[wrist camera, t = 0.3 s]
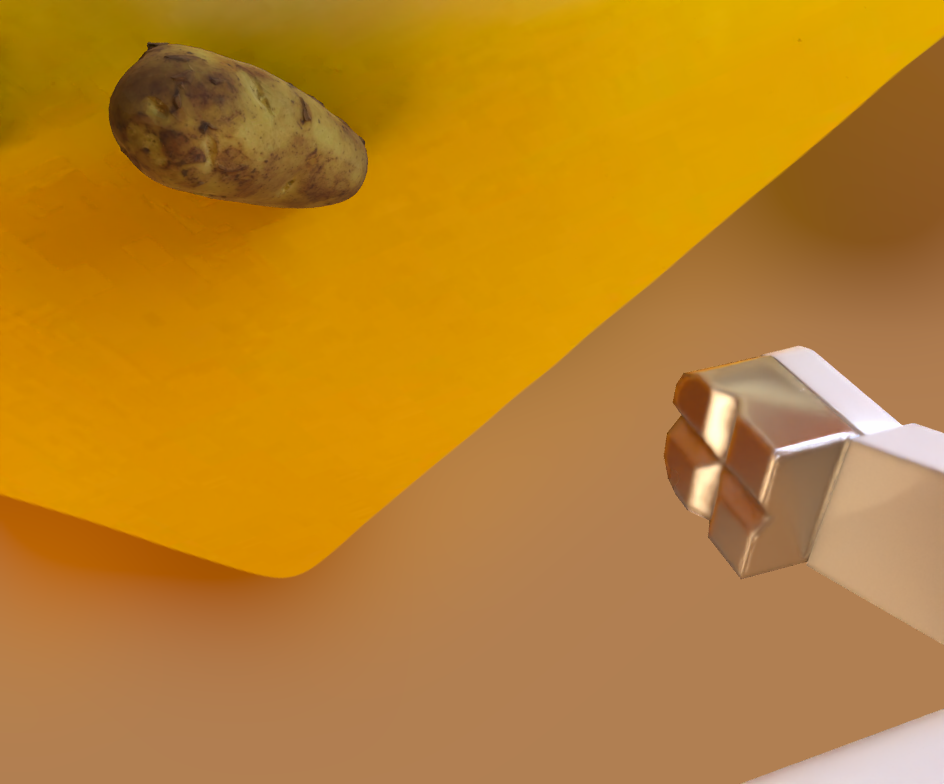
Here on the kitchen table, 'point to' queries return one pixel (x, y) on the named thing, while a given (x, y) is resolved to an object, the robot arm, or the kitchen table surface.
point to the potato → (232, 131)
